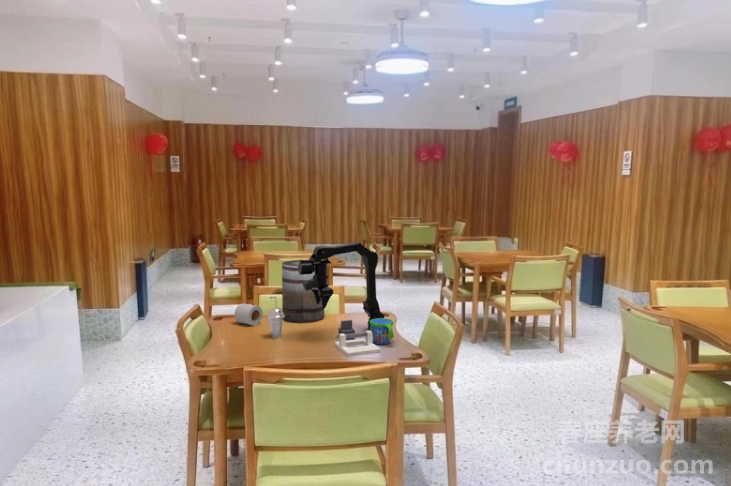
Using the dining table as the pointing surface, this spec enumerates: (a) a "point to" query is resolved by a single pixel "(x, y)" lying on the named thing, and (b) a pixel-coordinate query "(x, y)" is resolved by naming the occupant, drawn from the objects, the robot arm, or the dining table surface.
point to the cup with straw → (276, 320)
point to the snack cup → (381, 330)
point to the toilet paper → (248, 314)
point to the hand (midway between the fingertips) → (320, 306)
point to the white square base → (360, 350)
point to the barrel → (298, 296)
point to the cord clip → (346, 328)
